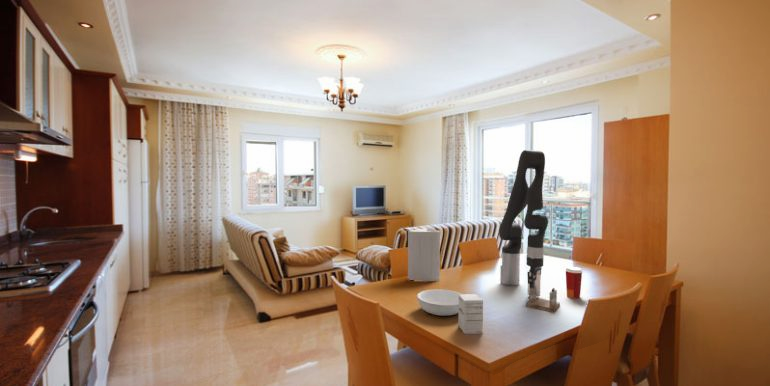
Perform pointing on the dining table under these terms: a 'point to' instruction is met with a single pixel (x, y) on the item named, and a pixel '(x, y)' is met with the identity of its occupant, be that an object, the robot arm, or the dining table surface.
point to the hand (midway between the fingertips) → (534, 290)
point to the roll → (537, 284)
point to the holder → (542, 303)
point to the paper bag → (424, 254)
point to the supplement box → (470, 314)
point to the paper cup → (573, 282)
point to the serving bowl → (439, 302)
